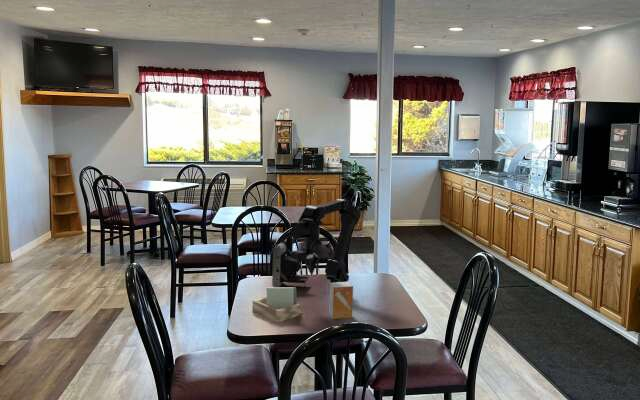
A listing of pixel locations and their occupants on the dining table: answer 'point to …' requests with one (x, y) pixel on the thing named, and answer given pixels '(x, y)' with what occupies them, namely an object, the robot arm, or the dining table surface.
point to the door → (281, 297)
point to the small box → (340, 300)
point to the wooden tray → (275, 310)
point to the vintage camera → (285, 267)
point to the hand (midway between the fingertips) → (311, 273)
